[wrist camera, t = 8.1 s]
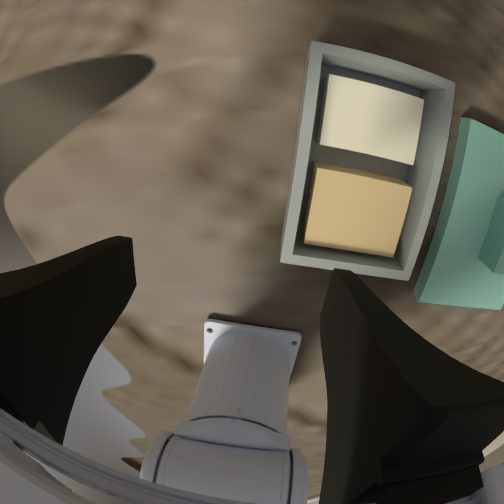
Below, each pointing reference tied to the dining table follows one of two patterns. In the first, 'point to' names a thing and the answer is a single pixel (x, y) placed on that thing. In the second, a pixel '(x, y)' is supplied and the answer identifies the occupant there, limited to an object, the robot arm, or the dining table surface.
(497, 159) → the lid
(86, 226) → the dining table surface
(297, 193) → the box
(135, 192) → the dining table surface
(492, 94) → the dining table surface
